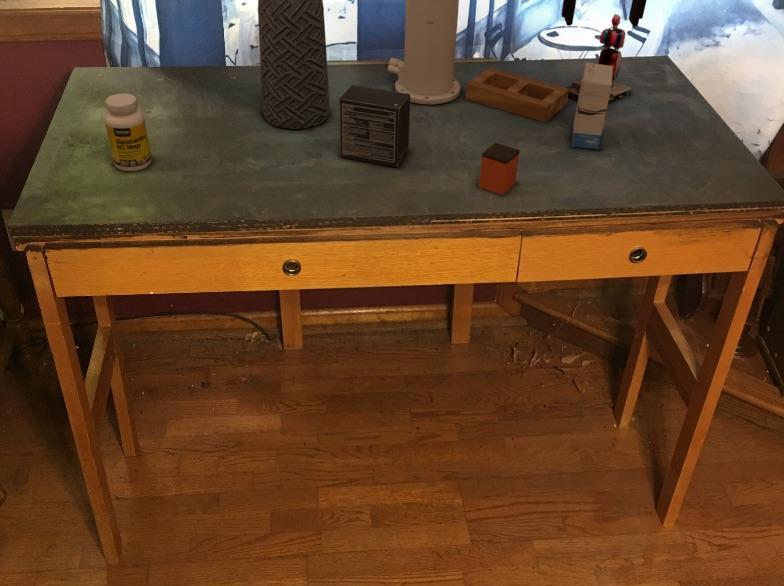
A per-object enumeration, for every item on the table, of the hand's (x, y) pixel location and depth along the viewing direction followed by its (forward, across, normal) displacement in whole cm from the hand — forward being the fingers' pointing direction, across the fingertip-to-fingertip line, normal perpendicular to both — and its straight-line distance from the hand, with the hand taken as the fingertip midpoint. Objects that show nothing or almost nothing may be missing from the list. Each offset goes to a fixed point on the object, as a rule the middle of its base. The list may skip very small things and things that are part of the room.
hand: (600, 22), depth 127 cm
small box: (+24, +33, -5) cm, 41 cm away
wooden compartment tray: (+24, +6, -27) cm, 37 cm away
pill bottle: (+24, +73, 0) cm, 77 cm away
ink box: (+24, -4, -12) cm, 28 cm away
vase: (+24, +48, -19) cm, 57 cm away
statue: (+24, -9, -31) cm, 40 cm away
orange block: (+24, +13, +5) cm, 28 cm away
